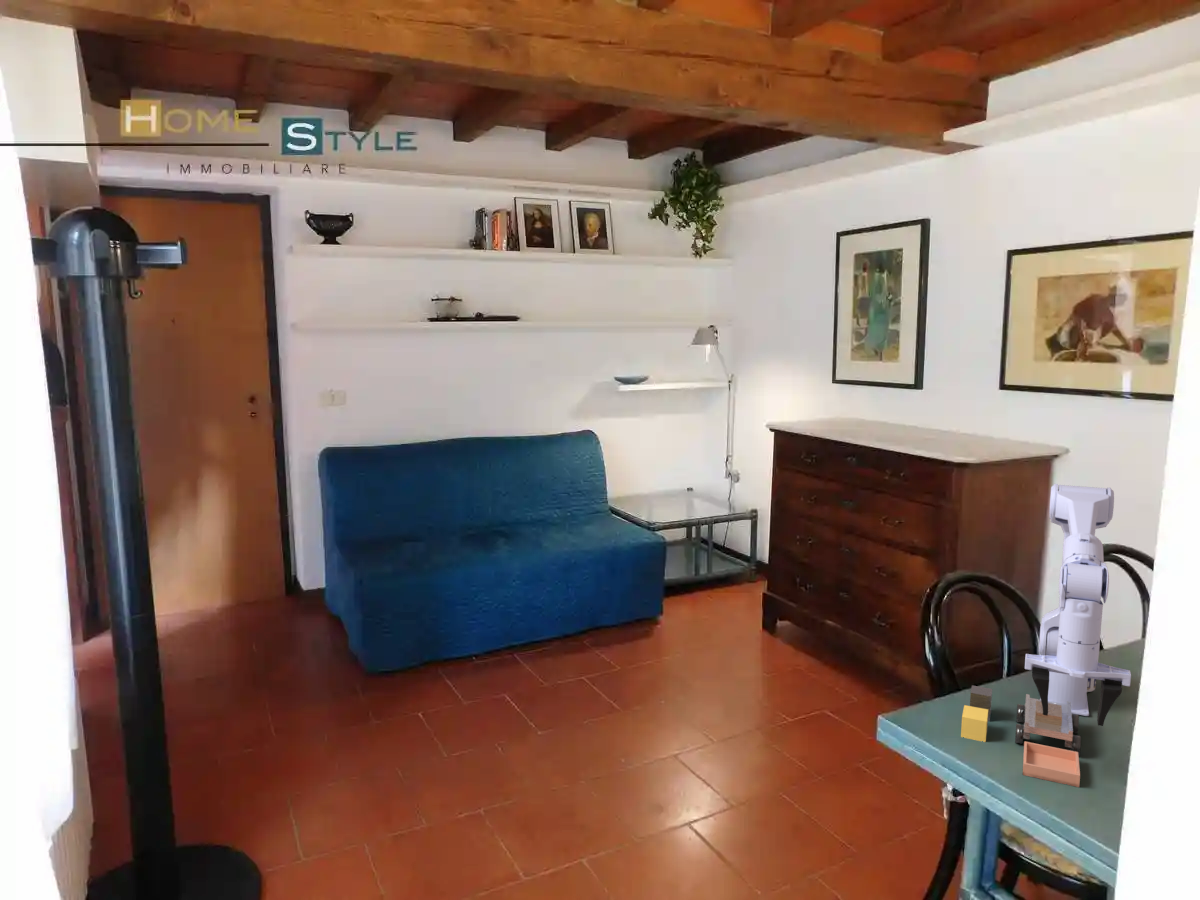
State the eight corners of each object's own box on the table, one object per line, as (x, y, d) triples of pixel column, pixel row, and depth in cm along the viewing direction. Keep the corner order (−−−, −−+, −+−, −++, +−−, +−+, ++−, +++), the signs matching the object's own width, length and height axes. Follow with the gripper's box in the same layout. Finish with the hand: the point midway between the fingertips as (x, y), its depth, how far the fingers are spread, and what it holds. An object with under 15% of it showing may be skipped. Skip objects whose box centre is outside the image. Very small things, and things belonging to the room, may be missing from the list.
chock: (963, 725, 150) (964, 705, 149) (987, 730, 148) (988, 709, 148) (960, 737, 146) (961, 716, 145) (985, 742, 144) (986, 721, 143)
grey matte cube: (970, 709, 156) (972, 685, 155) (990, 713, 154) (992, 688, 153) (969, 717, 153) (970, 692, 152) (989, 721, 151) (991, 696, 150)
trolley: (1016, 716, 153) (1018, 687, 152) (1076, 728, 148) (1079, 698, 147) (1014, 746, 142) (1016, 715, 141) (1079, 759, 138) (1082, 727, 137)
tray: (1023, 752, 140) (1024, 741, 140) (1077, 763, 137) (1078, 752, 136) (1022, 774, 133) (1023, 763, 133) (1079, 787, 130) (1080, 775, 129)
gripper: (1026, 638, 129) (1021, 718, 131) (1135, 655, 122) (1127, 739, 124) (1027, 624, 135) (1022, 700, 137) (1131, 638, 128) (1123, 719, 131)
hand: (1072, 717), depth 131 cm, fingers open, 7 cm apart
